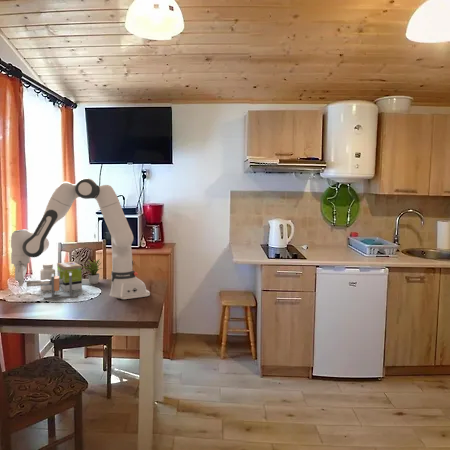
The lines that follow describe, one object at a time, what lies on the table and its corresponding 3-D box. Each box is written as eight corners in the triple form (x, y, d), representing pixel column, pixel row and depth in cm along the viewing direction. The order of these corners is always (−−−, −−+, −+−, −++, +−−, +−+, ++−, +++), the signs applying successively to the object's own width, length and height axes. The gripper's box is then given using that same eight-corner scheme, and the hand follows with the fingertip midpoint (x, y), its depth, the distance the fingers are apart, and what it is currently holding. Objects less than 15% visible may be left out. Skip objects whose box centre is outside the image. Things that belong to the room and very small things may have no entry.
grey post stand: (77, 292, 230) (76, 272, 229) (77, 297, 221) (77, 275, 220) (44, 294, 224) (44, 273, 223) (43, 299, 215) (43, 277, 214)
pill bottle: (56, 290, 236) (56, 264, 234) (42, 291, 231) (41, 266, 230) (53, 287, 242) (53, 262, 241) (39, 288, 238) (38, 263, 236)
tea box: (57, 286, 244) (56, 262, 242) (74, 284, 250) (73, 261, 249) (65, 291, 232) (64, 266, 231) (82, 289, 238) (82, 264, 237)
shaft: (63, 283, 224) (62, 278, 223) (62, 284, 221) (62, 279, 221) (27, 286, 217) (27, 280, 217) (26, 287, 214) (26, 281, 214)
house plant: (89, 280, 261) (88, 255, 260) (109, 281, 259) (109, 256, 257) (77, 285, 247) (77, 259, 246) (98, 286, 245) (98, 260, 243)
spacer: (59, 287, 225) (59, 275, 225) (59, 290, 219) (59, 278, 218) (54, 288, 224) (54, 276, 224) (54, 291, 218) (53, 278, 217)
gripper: (25, 262, 205) (25, 289, 206) (28, 256, 224) (29, 280, 225) (11, 263, 203) (12, 290, 204) (16, 256, 222) (16, 281, 223)
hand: (21, 285), depth 215 cm, fingers open, 3 cm apart
